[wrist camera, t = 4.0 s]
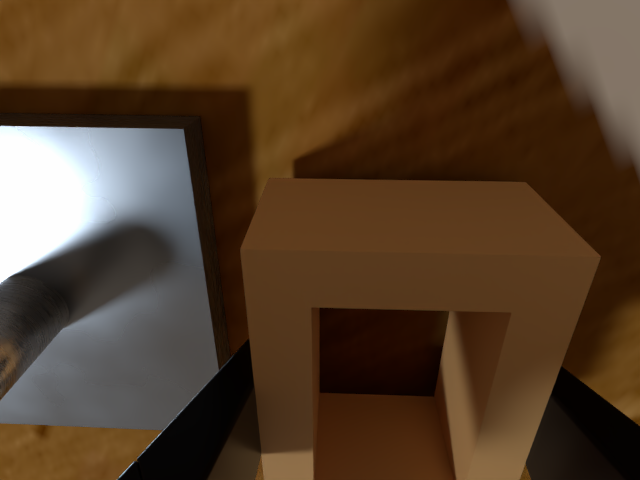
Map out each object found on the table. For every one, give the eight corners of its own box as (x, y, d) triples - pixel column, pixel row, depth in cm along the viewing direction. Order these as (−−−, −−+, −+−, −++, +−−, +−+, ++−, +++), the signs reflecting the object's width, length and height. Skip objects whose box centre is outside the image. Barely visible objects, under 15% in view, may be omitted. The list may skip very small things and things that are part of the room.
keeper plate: (236, 402, 12) (193, 561, 9) (-37, 390, 13) (-184, 541, 9) (200, 116, 8) (97, 195, 5) (-191, 110, 9) (-546, 180, 5)
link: (466, 423, 12) (499, 534, 9) (283, 417, 12) (268, 524, 10) (525, 181, 8) (600, 256, 6) (269, 177, 9) (240, 249, 6)
